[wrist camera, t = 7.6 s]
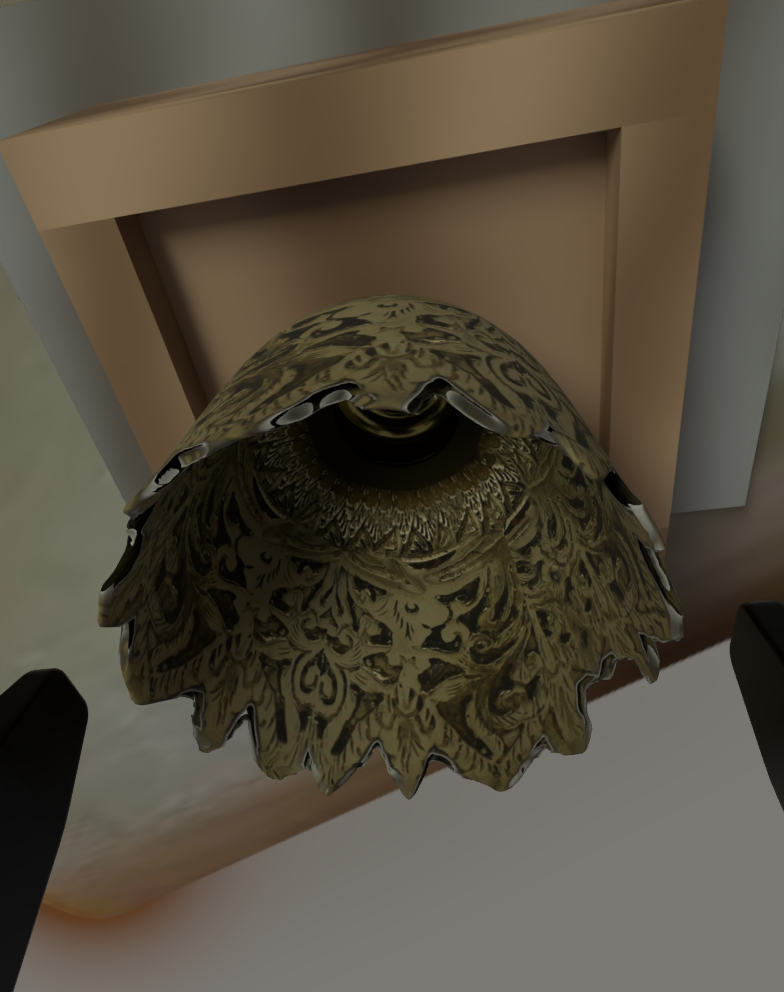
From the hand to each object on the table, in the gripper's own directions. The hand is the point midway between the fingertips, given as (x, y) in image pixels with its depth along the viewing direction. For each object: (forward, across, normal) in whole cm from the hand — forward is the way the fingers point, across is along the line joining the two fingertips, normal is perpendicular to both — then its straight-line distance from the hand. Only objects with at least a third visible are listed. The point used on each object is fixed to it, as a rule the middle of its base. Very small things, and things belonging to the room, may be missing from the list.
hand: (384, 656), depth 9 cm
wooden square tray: (+13, 0, 0) cm, 13 cm away
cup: (+8, 0, 0) cm, 8 cm away
